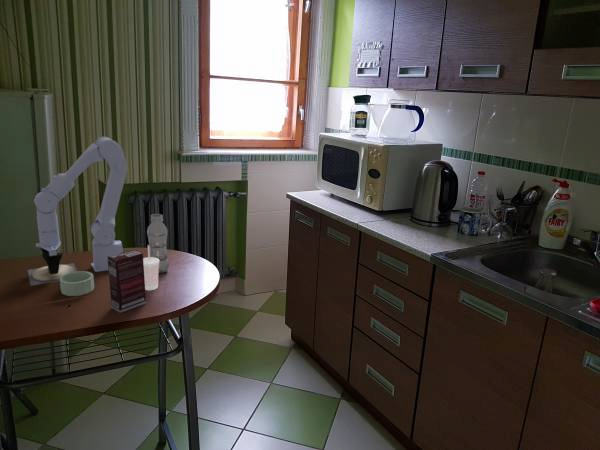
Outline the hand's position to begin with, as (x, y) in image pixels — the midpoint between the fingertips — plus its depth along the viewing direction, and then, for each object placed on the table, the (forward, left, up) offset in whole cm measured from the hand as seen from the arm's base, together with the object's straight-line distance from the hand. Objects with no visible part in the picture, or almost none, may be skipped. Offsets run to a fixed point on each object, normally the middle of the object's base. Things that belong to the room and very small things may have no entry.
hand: (53, 269), depth 153 cm
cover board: (0, 0, -2) cm, 2 cm away
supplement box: (-16, +33, -2) cm, 37 cm away
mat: (0, 0, -2) cm, 2 cm away
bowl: (-5, +16, -2) cm, 17 cm away
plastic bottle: (-31, +12, -2) cm, 33 cm away
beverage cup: (-25, +23, -2) cm, 34 cm away
